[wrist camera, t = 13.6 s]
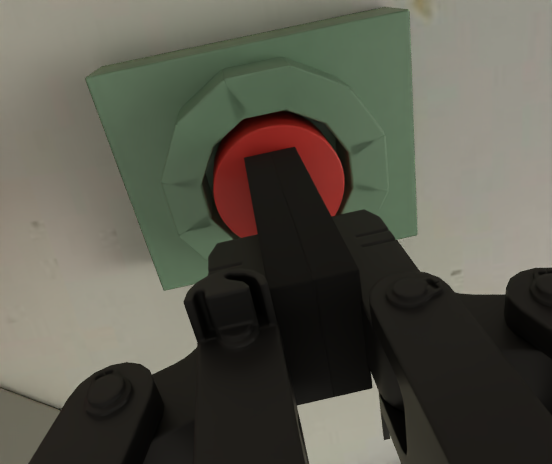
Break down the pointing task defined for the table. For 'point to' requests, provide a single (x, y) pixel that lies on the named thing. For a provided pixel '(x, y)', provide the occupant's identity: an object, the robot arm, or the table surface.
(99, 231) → the table surface
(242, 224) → the button
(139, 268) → the table surface
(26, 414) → the digital clock
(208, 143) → the button box
